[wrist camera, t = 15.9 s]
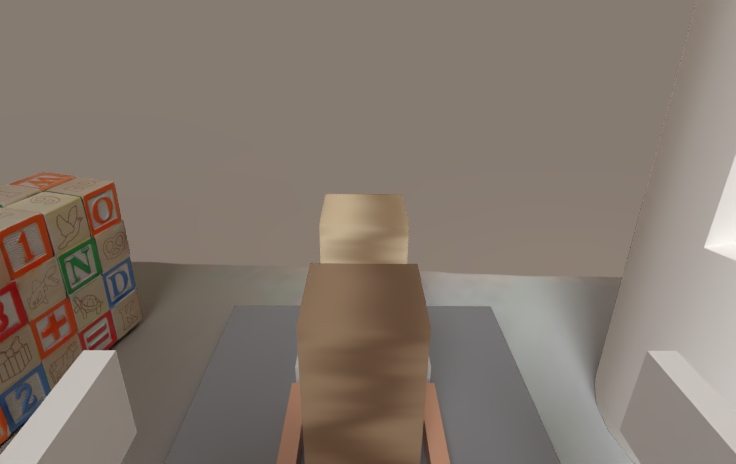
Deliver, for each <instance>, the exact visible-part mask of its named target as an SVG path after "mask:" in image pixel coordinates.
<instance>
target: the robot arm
mask: <svg viewBox="0 0 736 464" xmlns="http://www.w3.org/2000/svg"><path fill="white" fill-rule="evenodd" d="M620 432H621V433H622V435H623V436H624V438H625V440H626V441H627V443H628V444H629V446H630V448H631V449H632V451H633V452H634V454H635V455H636V457H637V459H638V460H639V462H640V463H641V464H736V413H735V412H734V411H733V409H732V408H731V407H730V406H729V405H728V404H727V403H726V402H725V401H724V400H723V399H722V398H721V397H720V396H719V395H718V394H717V393H716V392H715V390H714V389H713V388H712V387H711V386H710V385H709V384H708V383H707V382H706V381H705V380H704V379H703V378H702V377H701V376H700V375H699V374H698V373H697V371H696V370H695V369H694V368H693V367H692V366H691V365H690V364H689V363H688V362H687V361H686V360H685V359H684V358H683V357H682V356H681V355H680V354H679V352H678V351H647V353H646V356H645V358H644V361H643V364H642V367H641V370H640V373H639V376H638V379H637V381H636V384H635V387H634V390H633V393H632V396H631V399H630V401H629V404H628V407H627V410H626V413H625V416H624V419H623V421H622V424H621V427H620ZM136 434H137V430H136V426H135V422H134V418H133V415H132V411H131V407H130V403H129V399H128V395H127V391H126V387H125V384H124V380H123V376H122V372H121V368H120V364H119V360H118V356H117V353H116V350H83V352H82V353H81V354H80V355H79V357H78V358H77V359H76V360H75V362H74V363H73V364H72V365H71V367H70V368H69V369H68V371H67V372H66V373H65V374H64V376H63V377H62V378H61V379H60V381H59V382H58V383H57V384H56V386H55V387H54V388H53V389H52V391H51V392H50V393H49V394H48V396H47V397H46V398H45V400H44V401H43V402H42V403H41V405H40V406H39V407H38V408H37V410H36V411H35V412H34V413H33V415H32V416H31V417H30V418H29V420H28V421H27V422H26V423H25V425H24V426H23V427H22V429H21V430H20V431H19V432H18V434H17V435H16V436H15V437H14V439H13V440H12V441H11V442H10V444H9V445H8V446H7V447H6V449H5V450H4V451H3V452H2V454H1V455H0V464H121V463H122V461H123V459H124V457H125V455H126V453H127V451H128V449H129V448H130V446H131V444H132V442H133V440H134V438H135V436H136Z"/></svg>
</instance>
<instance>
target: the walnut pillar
mask: <svg viewBox="0 0 736 464" xmlns="http://www.w3.org/2000/svg"><path fill="white" fill-rule="evenodd" d="M296 333H297V348H298V364H299V380H300V395H301V411H302V427H303V442H304V458H305V464H420V460H421V448H422V435H423V422H424V410H425V397H426V384H427V372H428V359H429V347H430V334H431V325H430V321H429V316H428V312H427V307H426V302H425V298H424V293H423V288H422V284H421V279H420V274H419V270H418V265H417V264H342V263H311V264H310V267H309V272H308V276H307V281H306V285H305V290H304V294H303V299H302V303H301V308H300V312H299V317H298V321H297V326H296Z"/></svg>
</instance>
